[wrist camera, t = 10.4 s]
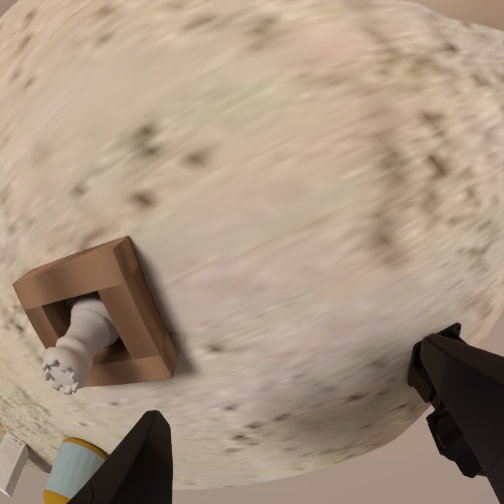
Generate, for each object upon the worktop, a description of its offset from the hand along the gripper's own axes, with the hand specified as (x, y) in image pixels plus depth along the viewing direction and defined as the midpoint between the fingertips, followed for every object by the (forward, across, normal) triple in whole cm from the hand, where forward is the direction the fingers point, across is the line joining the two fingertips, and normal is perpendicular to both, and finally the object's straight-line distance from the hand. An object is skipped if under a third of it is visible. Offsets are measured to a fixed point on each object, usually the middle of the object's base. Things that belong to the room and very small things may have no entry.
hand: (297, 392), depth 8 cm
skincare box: (+12, +49, +23) cm, 55 cm away
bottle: (+12, +29, +21) cm, 38 cm away
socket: (+12, +13, +1) cm, 18 cm away
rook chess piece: (+12, +13, +1) cm, 18 cm away
